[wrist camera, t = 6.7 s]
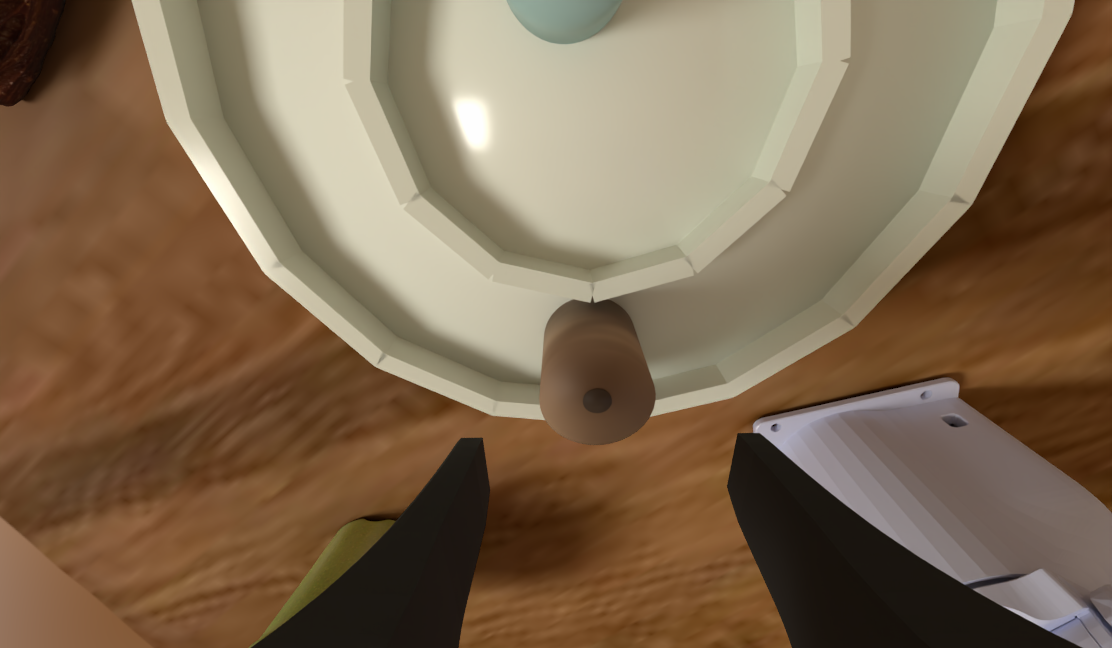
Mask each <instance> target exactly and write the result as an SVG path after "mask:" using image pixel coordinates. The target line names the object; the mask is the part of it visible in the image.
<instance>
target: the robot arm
mask: <svg viewBox="0 0 1112 648" xmlns="http://www.w3.org/2000/svg"><path fill="white" fill-rule="evenodd" d="M923 392H924V393H923ZM958 394H959V383H958V382H956V381H955V380H953V379H952V378H949V377H946V378H940V379H936V380H931V381H926V382H922V383H917V384H913V385H908V386H904V387H899V388H895V389H890V390H886V391H881V392H877V393H872V394H868V395H863V396H859V397H854V398H850V399H845V400H841V401H836V402H832V403H827V404H823V405H818V406H814V407H809V408H805V409H800V410H796V411H791V412H787V413H782V414H778V415H773V416H769V417H764V418H761V419H758V420H757V421H755V423H754V424H753V433H738V434H737V439H736V444H735V449H734V454H733V459H732V465H731V470H730V475H729V480H728V485H727V488H728V491H729V494H730V498H731V501H732V504H733V508H734V511H735V514H736V517H737V520H738V523H739V525H740V527H741V530H742V532H743V534H744V536H745V539H746V541H747V543H748V545H749V548H750V550H751V552H752V554H753V556H754V559H755V561H756V563H757V565H758V567H759V569H760V572H761V574H762V576H763V578H764V580H765V583H766V585H767V587H768V589H769V591H770V594H771V596H772V598H773V600H774V602H775V605H776V607H777V609H778V612H779V614H780V616H781V619H782V621H783V624H784V626H785V629H786V632H787V635H788V637H789V640H790V643H791V646H792V648H1112V513H1111V512H1110V511H1109V510H1108V509H1107V507H1106V506H1105V505H1104V504H1103V503H1101V502H1100V501H1099V500H1098V499H1097V498H1096V497H1095V496H1094V495H1093V494H1091V493H1090V492H1089V491H1088V490H1087V489H1085V488H1084V487H1083V486H1081V485H1080V484H1079V483H1077V482H1076V481H1075V480H1073V479H1072V478H1070V477H1069V476H1068V475H1066V474H1065V473H1063V472H1062V471H1061V470H1059V469H1058V468H1056V467H1055V466H1054V465H1052V464H1051V463H1049V462H1048V461H1047V460H1045V459H1044V458H1042V457H1041V456H1040V455H1038V454H1037V453H1035V452H1034V451H1033V450H1031V449H1030V448H1028V447H1027V446H1026V445H1024V444H1023V443H1021V442H1020V441H1019V440H1017V439H1016V438H1014V437H1013V436H1012V435H1010V434H1009V433H1007V432H1006V431H1005V430H1003V429H1002V428H1000V427H999V426H998V425H996V424H995V423H993V422H992V421H991V420H989V419H988V418H986V417H985V416H984V415H982V414H981V413H979V412H978V411H977V410H975V409H974V408H972V407H971V406H970V405H968V404H967V403H965V402H964V401H963V400H961V399H960V398H958ZM774 424H776V425H775V426H773V427H771V426H772V425H774ZM489 494H490V486H489V479H488V472H487V465H486V459H485V452H484V445H483V438H461V439H460V440H459V441H458V442H457V444H456V445H455V446H454V448H453V449H452V451H451V452H450V454H449V455H448V456H447V458H446V459H445V461H444V462H443V463H442V465H441V466H440V467H439V469H438V470H437V472H436V473H435V474H434V476H433V477H432V478H431V479H430V481H429V482H428V483H427V484H426V486H425V487H424V488H423V490H422V491H421V492H420V493H419V495H418V496H417V497H416V498H415V500H414V501H413V502H412V503H411V504H410V505H409V507H408V508H407V509H406V510H405V511H404V512H403V514H402V515H401V516H400V517H399V518H398V519H397V520H396V522H395V523H394V524H393V525H392V526H391V527H390V528H389V529H388V530H387V531H386V533H385V534H384V535H383V536H382V537H381V538H380V539H379V540H378V541H377V542H376V543H375V544H374V545H373V546H372V547H371V548H370V549H369V550H368V551H367V552H366V553H365V554H364V555H363V556H362V557H361V558H360V559H359V560H358V561H357V562H356V563H354V564H353V565H352V566H351V567H350V568H349V569H348V570H347V571H346V572H345V573H344V574H343V575H341V576H340V577H339V578H338V579H337V580H336V581H335V582H334V583H333V584H331V585H330V586H329V587H328V588H327V589H326V590H324V591H323V592H322V593H321V594H320V595H319V596H317V597H316V598H315V599H314V600H312V601H311V602H310V603H309V604H307V605H306V606H305V607H304V608H302V609H301V610H300V611H299V612H297V613H296V614H295V615H294V616H292V617H291V618H290V619H289V620H287V621H286V622H285V623H284V624H282V625H281V626H280V627H278V628H277V629H276V630H274V631H273V632H272V633H270V634H269V635H268V636H266V637H265V638H263V639H262V640H261V641H259V642H258V643H256V644H255V645H254V646H252V647H251V648H458V647H459V640H460V634H461V627H462V622H463V617H464V613H465V608H466V604H467V600H468V596H469V591H470V587H471V583H472V579H473V575H474V571H475V567H476V563H477V559H478V555H479V550H480V546H481V542H482V538H483V534H484V529H485V525H486V518H487V510H488V502H489Z"/></svg>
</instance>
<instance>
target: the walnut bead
mask: <svg viewBox="0 0 1112 648" xmlns="http://www.w3.org/2000/svg"><path fill="white" fill-rule="evenodd" d="M655 400H656V392H655V386H654V383H653V380H652V377H651V374H650V371H649V368H648V366H647V363H646V360H645V357H644V354H643V351H642V348H641V345H640V342H639V339H638V336H637V333H636V331H635V328H634V325H633V322H632V320H631V318H630V316H629V315H628V313H627V312H626V311H625V310H624V309H623V308H622V307H621V306H620V305H618V304H617V303H615V302H613V301H611V300H609V299H606V300H602V301H599V302H595V303H594V299H593V296H592V299H591V302H590V303H589V302H584V301H580V300H575V299H573V300H570V301H568V302H566V303H565V304H563V305H561V306H560V307H559V308H558V309H557V310H556V311H555V312H554V313H553V314H552V315H551V317H550V318H549V320H548V322H547V324H546V327H545V332H544V342H543V355H542V368H541V381H540V394H539V403H540V409H541V412H542V415H543V417H544V419H545V420H546V422H547V423H548V425H549V426H550V427H551V428H552V429H553V430H554V431H556V432H557V433H558V434H560V435H561V436H563V437H565V438H567V439H569V440H571V441H574V442H577V443H581V444H588V445H603V444H610V443H614V442H617V441H620V440H623V439H625V438H627V437H629V436H631V435H632V434H634V433H635V432H637V431H638V430H639V429H640V428H641V427H642V426H643V425H644V424H645V423H646V422H647V420H648V419H649V417H650V415H651V413H652V411H653V409H654V405H655Z"/></svg>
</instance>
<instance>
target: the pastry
mask: <svg viewBox="0 0 1112 648" xmlns="http://www.w3.org/2000/svg"><path fill="white" fill-rule="evenodd" d="M64 5H65V0H0V105H4V106H13V105H15V104H16V103H18V102H19V101H20V100H22V99H23V98H24V97H25V95H26V94H27V93H28V90H29V88H30V87H31V85H32V84H33V83H34V82H35V80H36V79H37V78H38V76H39V75H40V72H41V68H42V64H43V61H44V58H45V56H46V54H47V51H48V49H49V48H50V46H51V45H52V43H53V41H54V38H55V33H56V29H57V26H58V23H59V20H60V18H61V15H62V12H63V9H64Z"/></svg>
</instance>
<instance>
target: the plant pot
mask: <svg viewBox="0 0 1112 648" xmlns="http://www.w3.org/2000/svg"><path fill="white" fill-rule="evenodd" d="M395 522H396V521H393V520H383V521H377V522H373V521H367V520H365V519H359V520H355V521H353V522H350V523H348V524H346V525H345V526H343V527H342V528H341V529H340V530H339V531H338V532H337V534H336V535H335V537H334V538H333V539H332V541H331V542H330V543H329V545H328V546H327V547H326V549H325V550H324V551H323V553H322V554H321V556H320V557H319V559H318V560H317V561H316V563H315V564H314V566H313V567H312V568H311V570H310V571H309V573H308V574H307V575H306V577H305V578H304V579H303V581H302V582H301V584H300V585H299V586H298V588H297V589H296V590H295V592H294V593H293V594H292V596H291V597H290V598H289V600H288V601H287V602H286V604H285V605H284V607H283V608H282V609H281V611H280V612H279V613H278V615H277V616H276V617H275V619H274V620H273V622H272V623H271V624H270V626H269V627H268V628H267V630H266V631H265V632H264V634H263V635H262V636H261V638H260V639H259V640H258V641H256V642H255V643H253V644H252V645H251V646H250V647H249V648H251V647H252V646H254V645H255V644H256V643H258V642H259V641H261V640H262V639H263V638H265V637H266V636H268V635H269V634H270V633H272V632H273V631H274V630H276V629H277V628H278V627H280V626H281V625H282V624H284V623H285V622H286V621H287V620H289V619H290V618H291V617H292V616H294V615H295V614H296V613H297V612H299V611H300V610H301V609H302V608H304V607H305V606H306V605H307V604H309V603H310V602H311V601H312V600H314V599H315V598H316V597H317V596H319V595H320V594H321V593H322V592H323V591H324V590H326V589H327V588H328V587H329V586H330V585H331V584H333V583H334V582H335V581H336V580H337V579H338V578H339V577H340V576H341V575H343V574H344V573H345V572H346V571H347V570H348V569H349V568H350V567H351V566H352V565H353V564H354V563H356V562H357V561H358V560H359V559H360V558H361V557H362V556H363V555H364V554H365V553H366V552H367V551H368V550H369V549H370V548H371V547H372V546H373V545H374V544H375V543H376V542H377V541H378V540H379V539H380V538H381V537H382V536H383V535H384V534H385V533H386V531H387V530H388V529H389V528H390V527H391V526H392V525H393V524H394V523H395Z"/></svg>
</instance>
